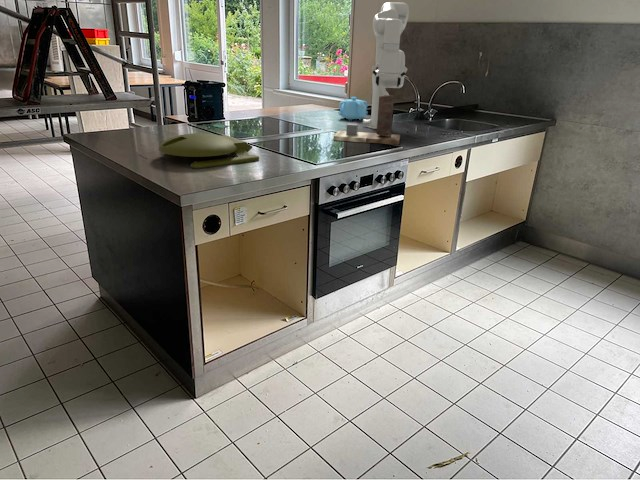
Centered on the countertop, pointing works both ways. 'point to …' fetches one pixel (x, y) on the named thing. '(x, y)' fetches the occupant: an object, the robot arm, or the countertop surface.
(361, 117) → the decorative pot
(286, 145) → the countertop surface
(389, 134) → the brown wooden block
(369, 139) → the light wood flat board
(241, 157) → the spaceship
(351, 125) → the gray cube
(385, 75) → the robot arm
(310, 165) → the countertop surface
